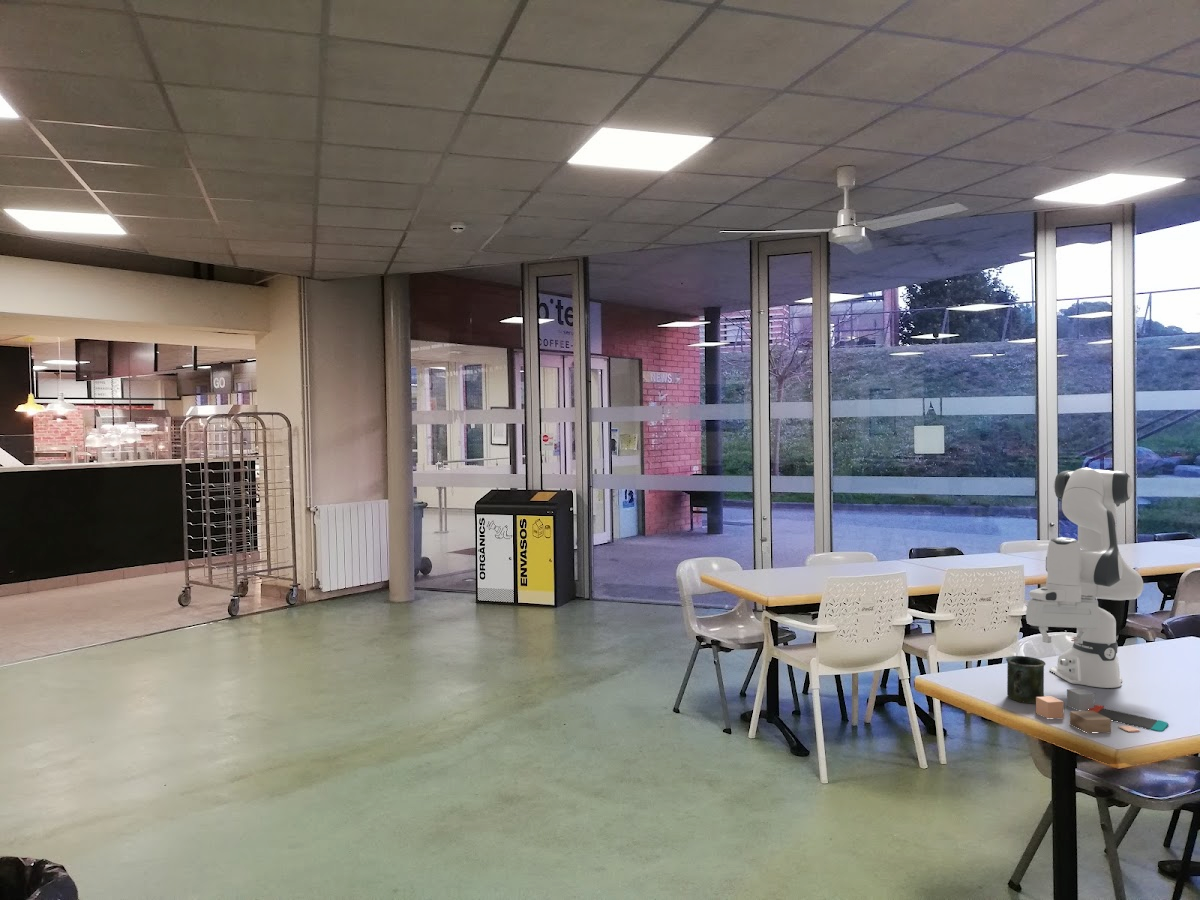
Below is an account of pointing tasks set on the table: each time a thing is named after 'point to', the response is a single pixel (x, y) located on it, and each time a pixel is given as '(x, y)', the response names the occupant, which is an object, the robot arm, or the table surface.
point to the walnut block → (1090, 721)
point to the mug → (1025, 678)
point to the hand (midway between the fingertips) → (1062, 643)
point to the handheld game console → (1131, 719)
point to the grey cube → (1080, 699)
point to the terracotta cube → (1049, 707)
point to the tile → (1129, 728)
